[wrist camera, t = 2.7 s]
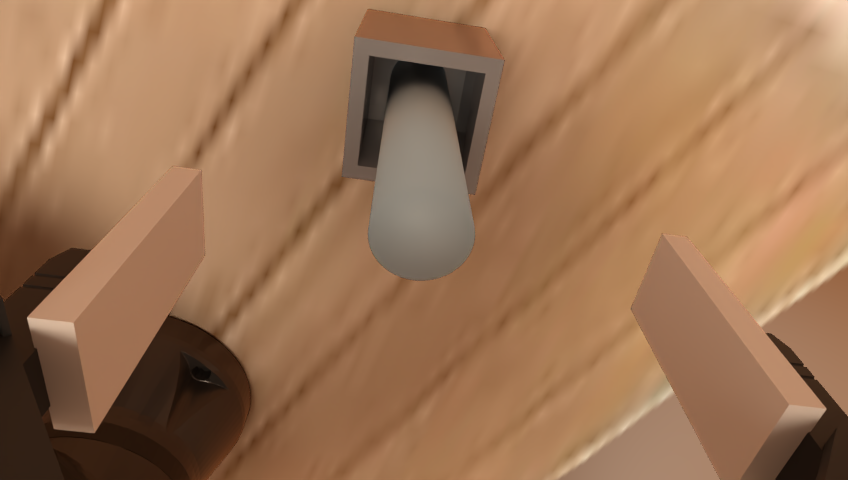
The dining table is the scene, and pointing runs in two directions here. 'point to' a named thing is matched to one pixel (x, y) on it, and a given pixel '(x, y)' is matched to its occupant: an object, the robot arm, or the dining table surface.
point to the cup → (426, 44)
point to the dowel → (420, 180)
